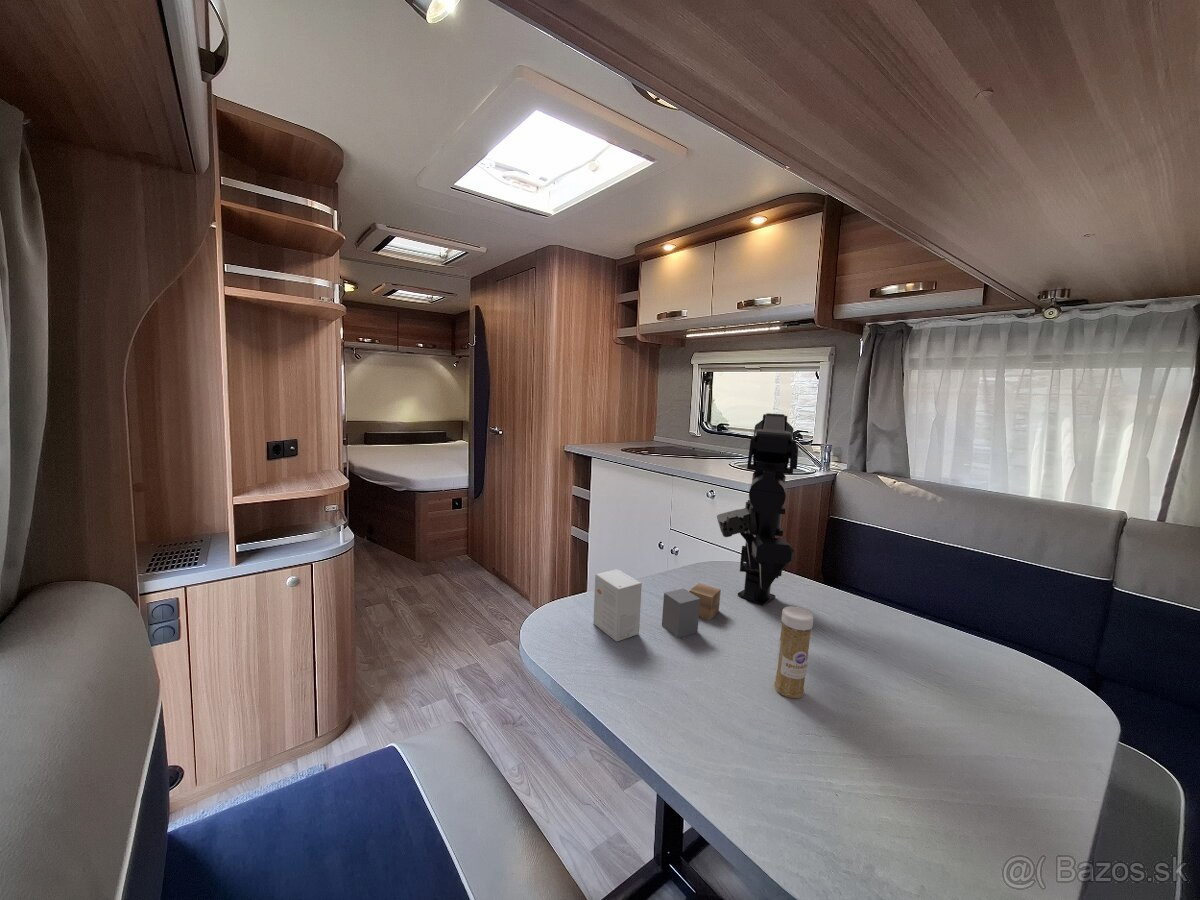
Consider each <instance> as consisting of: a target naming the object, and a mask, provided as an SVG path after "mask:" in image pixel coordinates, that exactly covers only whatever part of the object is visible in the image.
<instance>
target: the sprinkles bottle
mask: <svg viewBox="0 0 1200 900" xmlns="http://www.w3.org/2000/svg"><path fill="white" fill-rule="evenodd" d="M813 625H814V615H813V613H811V612H810V611H809V610H808V609H806V608H803V607H798V606H785V607H783V608H782V612H781V629H780V635H779V636H780V637H779V641H778V642H779V643H778V650H777V657H776V658H777V660H776V667H775V668H776V672H775V673H776V674H775V681H774V685H773V686H774V689H775V690H776V692H778V693H779V694H780V693H781V695H782V696H785V697H787V698H790V699H800V698H802V697H803V696H804V693H805V688H804V687H805V680H806V676H807V667H808V660H809V650H810V640H811V631H812V629H813Z"/></svg>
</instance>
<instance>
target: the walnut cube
mask: <svg viewBox="0 0 1200 900" xmlns="http://www.w3.org/2000/svg"><path fill="white" fill-rule="evenodd" d="M688 591H689V592H690V593H692V594H694V595H695V596H697V597H698V598H700V609H699V618H700V617H701V618H703V619H707V620H709V621H710V620H711V619H712V618H713V617H714V616H716V615H717V614H718V612H719V611H720V610H719V609H720V603H721V602H720V601H721V593H722V592H721V591H722V589H720V588H718V587H714V586H710V585H707V584H704V583H700V582H699V583H697V584H696V585H694V586H693V587H692V588H691V589H689V590H688Z"/></svg>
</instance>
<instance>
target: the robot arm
mask: <svg viewBox="0 0 1200 900" xmlns="http://www.w3.org/2000/svg"><path fill="white" fill-rule="evenodd" d="M793 438H794V427H793V426H792V425H791V424H790V423H789V422H788V415H785V414H783V413H782V414H781V413H771V412H767V413H765V414H764V413H763V415H762V419H761V421H759V422H757V423H756V424H754V431H753V435H751V437H750V441H749V450H748V451H749V452H748V458H747V466H746V470H748V471H753V472H752V476H751V477H752V479H751V480H752V481H751V484H750V488H749V491H748V499H747V501H746V502H745V507H743V508H739V509H734V510H730V511H726V512H722V513H719V514H717V515H716V518H717V522H718V526H719V529H720V532H721V534H722V536H723V537H724V538H728V537H730V538H731V537H732V536H733V535H734V536H735V535H737V534H740V536H741V537H742V538H743V539H744V540H745V545H742V546H741V553H740V565H739V572H740V573H745V579H744V586H743V590H741V591H739V592H738V593H737V596H738V597H741V598H742V599H745V600H747V601H751V602H753V603H755V604H758V605H761V606H764V605H766V604H768V603H769V602H771V601H772V600H774V599H775V598H776V595H775V594H773V593H771V587H772V584H773V582H774V581H775V579H779V577H782V573H783V569H784V568H785V567H786V565H787V564H788V565H789V564H790V563H792V562H794V558H795V557H794V556H795V550H794V548H793V547H792V546H791V545H790V543H789V542H788V541H787V540H786V539H785V538H784V537H783V535H784V529H782V527H781V525H782V523H781V522H782V515H786V508H785V507H784V504H785V501H786V500H787V499H786V495H787V494H786V478H787V476H786V475H793V474H794V470H797V468H798V459H799V458H798V457H799V446H798V445H797V441H796V439H793ZM752 462H753V463H752ZM788 466H789V467H788ZM776 536H778V537H776Z"/></svg>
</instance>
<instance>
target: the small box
mask: <svg viewBox="0 0 1200 900" xmlns="http://www.w3.org/2000/svg"><path fill="white" fill-rule="evenodd" d="M642 584H643V583H642V582H640V581H639V580H637V579H636V578H633V577H632V576H630V575H628V574H626V573H625V572H623V571H621V570H620V569H612V570H608V571H603V572H599V573H596V574H595V576H594V599H593V600H594V603H593V605H594V606H593V621H592V623H593V625H595V626H596V627H597V628H599V629H600V630H601V631H602V632H603V633H605V634H606V635H607V636H609V637H610V638H611V639H613V640H614V641H615V642H617V643H618V642H620V641H622V640H626V639H628V638H631V637H634V636H637V635H639V634H640V623H641V607H642V606H641V605H642V603H641V602H642V588H643V587H642Z"/></svg>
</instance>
